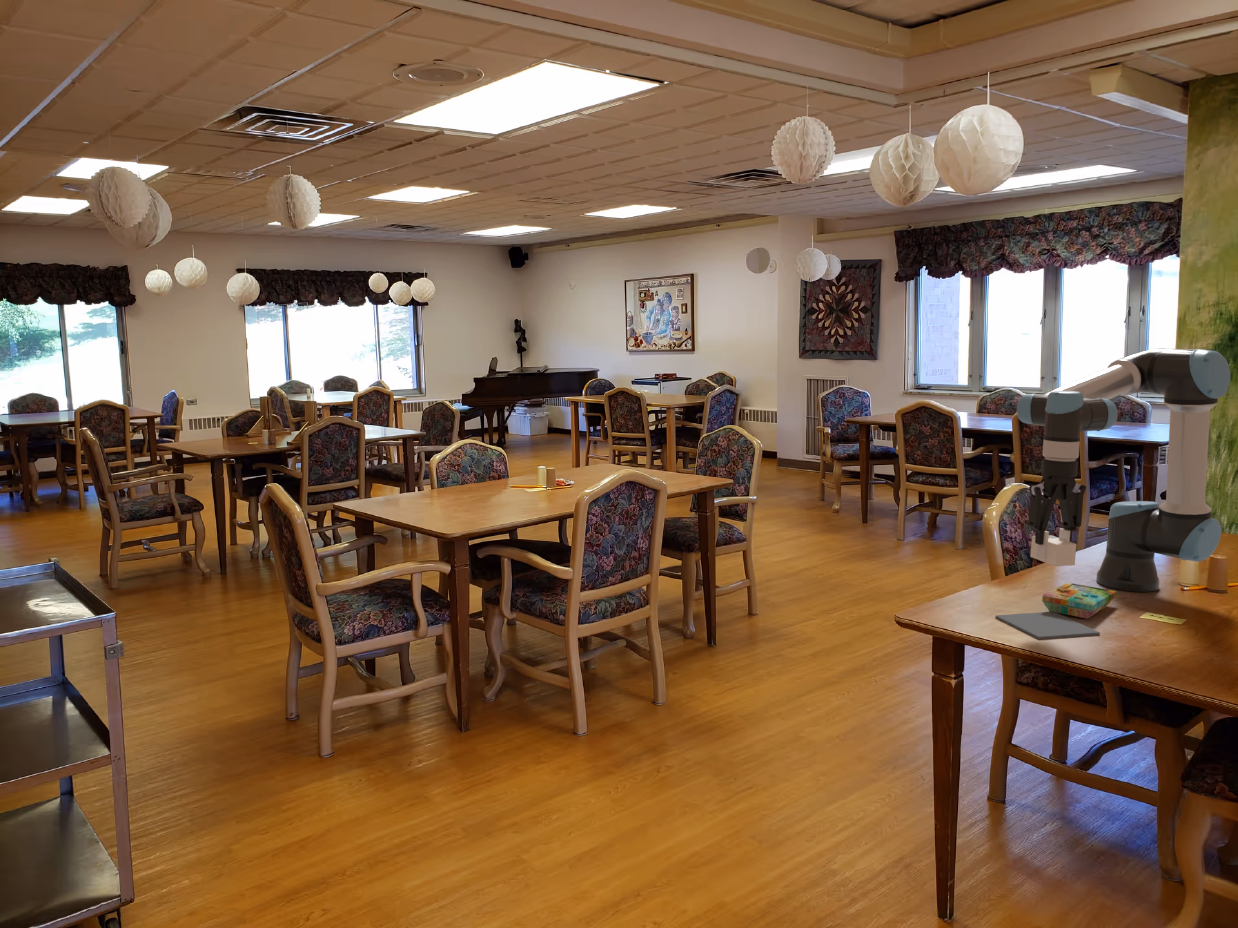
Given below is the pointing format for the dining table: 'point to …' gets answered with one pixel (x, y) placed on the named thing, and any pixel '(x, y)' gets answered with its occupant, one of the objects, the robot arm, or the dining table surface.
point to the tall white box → (1056, 551)
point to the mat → (1047, 625)
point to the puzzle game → (1078, 599)
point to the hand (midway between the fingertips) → (1052, 557)
